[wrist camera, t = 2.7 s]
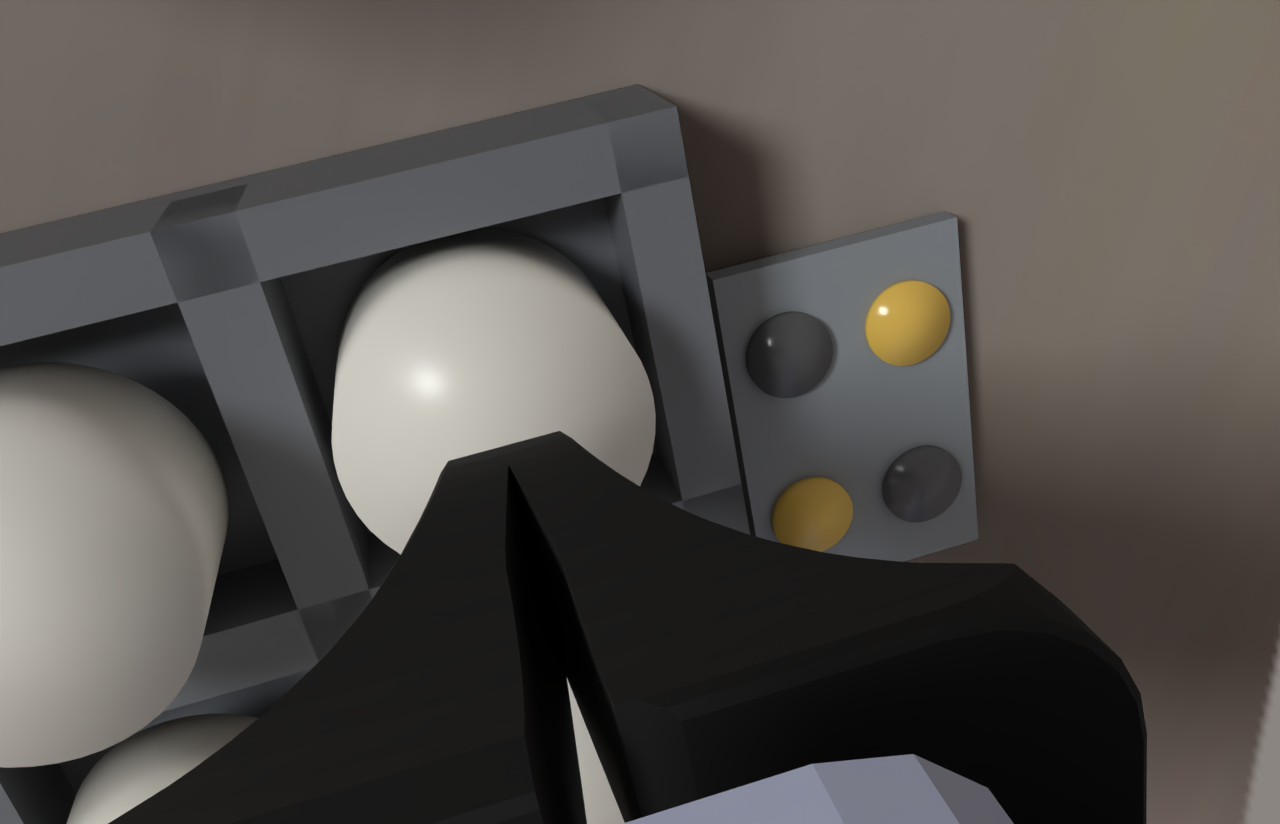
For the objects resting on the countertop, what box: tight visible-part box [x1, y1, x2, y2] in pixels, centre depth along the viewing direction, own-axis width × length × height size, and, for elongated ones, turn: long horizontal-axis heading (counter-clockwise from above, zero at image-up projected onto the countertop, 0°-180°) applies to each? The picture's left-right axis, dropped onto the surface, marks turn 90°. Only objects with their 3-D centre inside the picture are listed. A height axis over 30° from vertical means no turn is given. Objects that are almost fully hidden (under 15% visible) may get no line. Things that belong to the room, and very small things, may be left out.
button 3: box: [332, 228, 656, 554], centre depth 15 cm, size 4×4×3 cm
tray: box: [0, 84, 750, 824], centre depth 17 cm, size 12×12×2 cm
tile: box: [706, 211, 979, 562], centre depth 19 cm, size 6×4×1 cm, turn 11°
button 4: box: [0, 362, 229, 768], centre depth 13 cm, size 4×4×3 cm
